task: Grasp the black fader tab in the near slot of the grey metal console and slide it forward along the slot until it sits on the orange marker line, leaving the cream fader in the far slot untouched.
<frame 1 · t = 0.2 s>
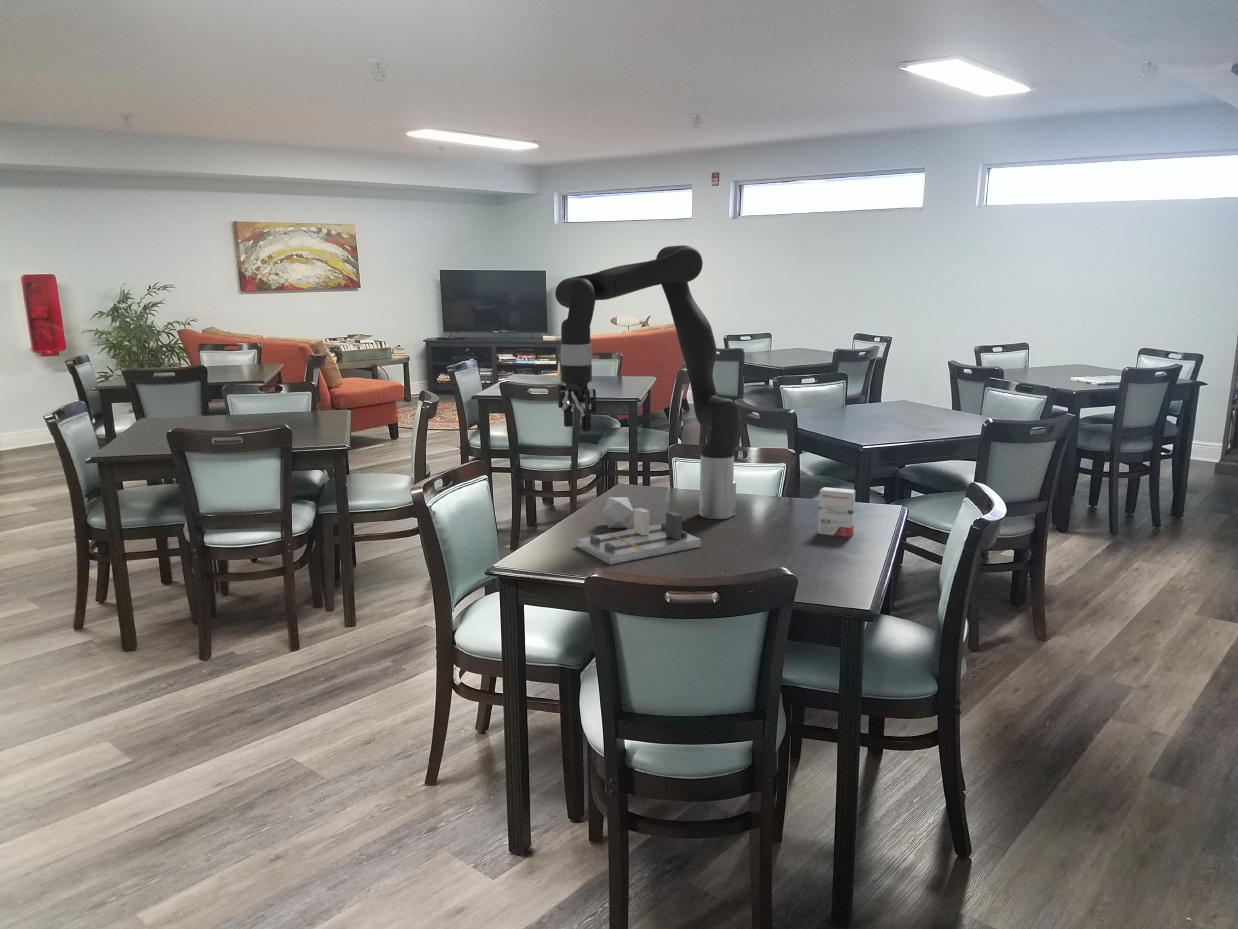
hand: (577, 428, 207), 29 cm above the table, tool pointing down, fingers open, 8 cm apart
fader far: (641, 521, 211), point 5 cm above the table, slide at 0.0 cm
ink box: (835, 534, 219), on the table
console: (638, 546, 208), on the table
fader near: (673, 525, 208), point 5 cm above the table, slide at 0.0 cm
die: (618, 527, 226), on the table
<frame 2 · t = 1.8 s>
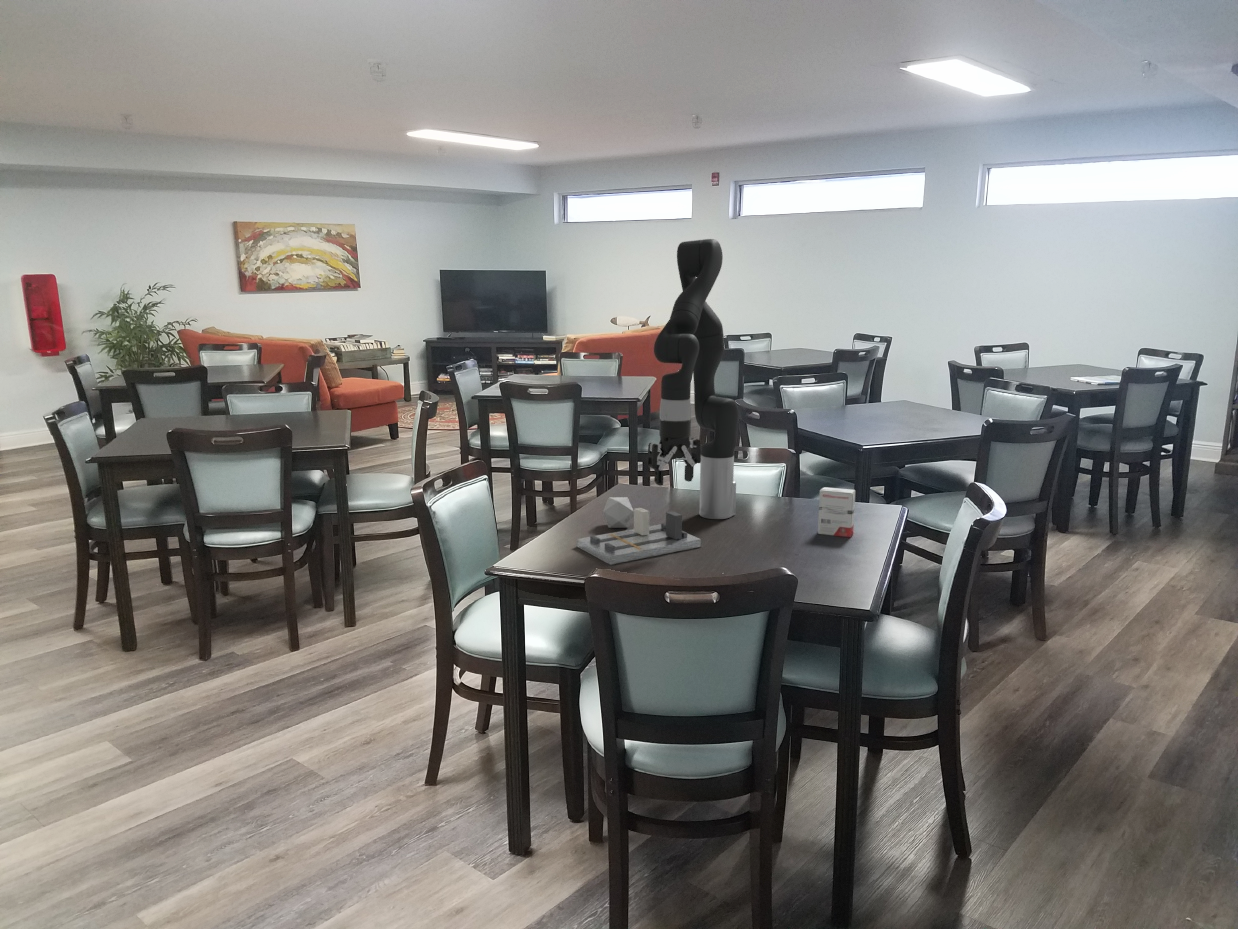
hand: (673, 482, 206), 16 cm above the table, tool pointing down, fingers open, 8 cm apart
nothing on the table moved.
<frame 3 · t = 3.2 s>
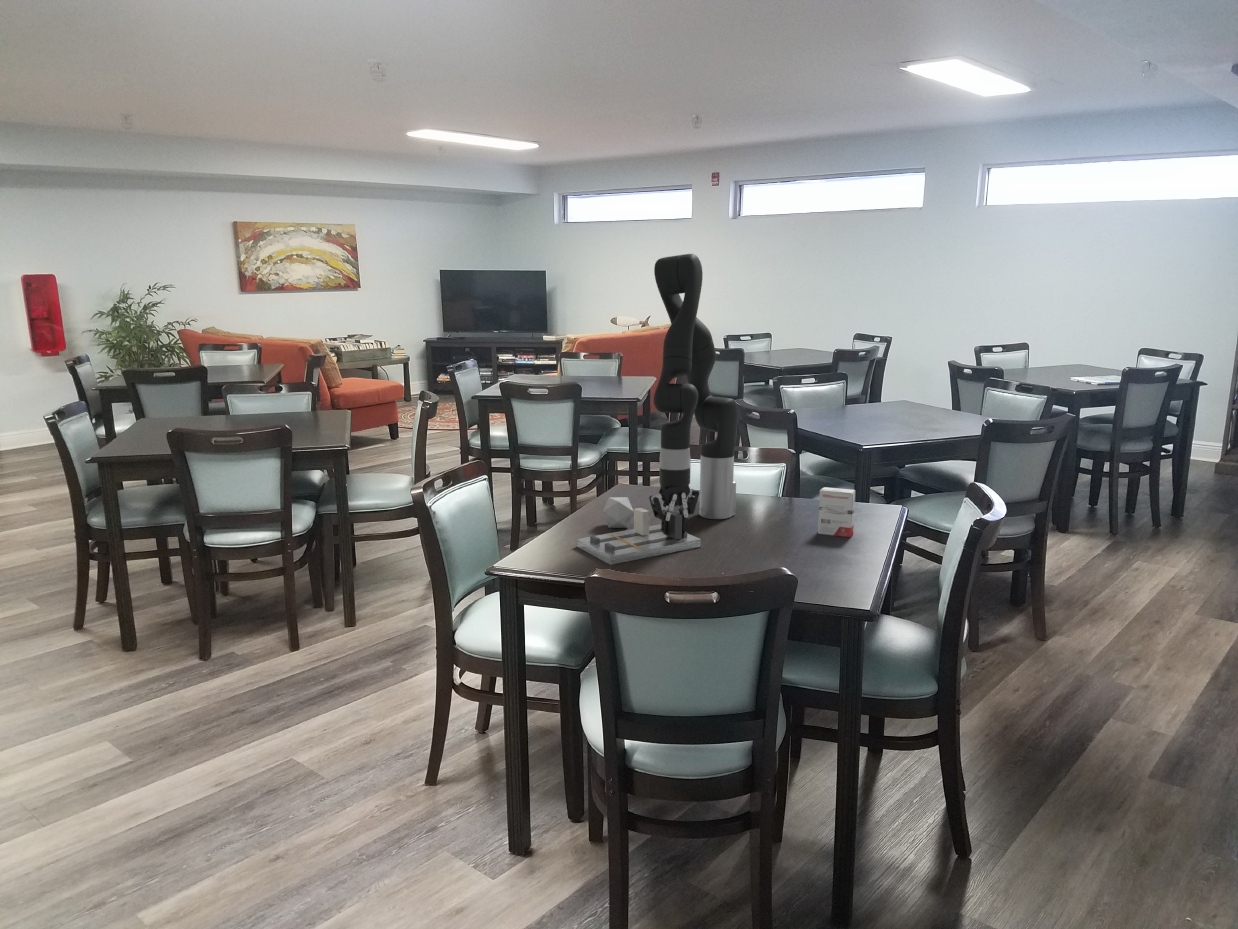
hand: (674, 532, 208), 3 cm above the table, tool pointing down, fingers open, 4 cm apart
nothing on the table moved.
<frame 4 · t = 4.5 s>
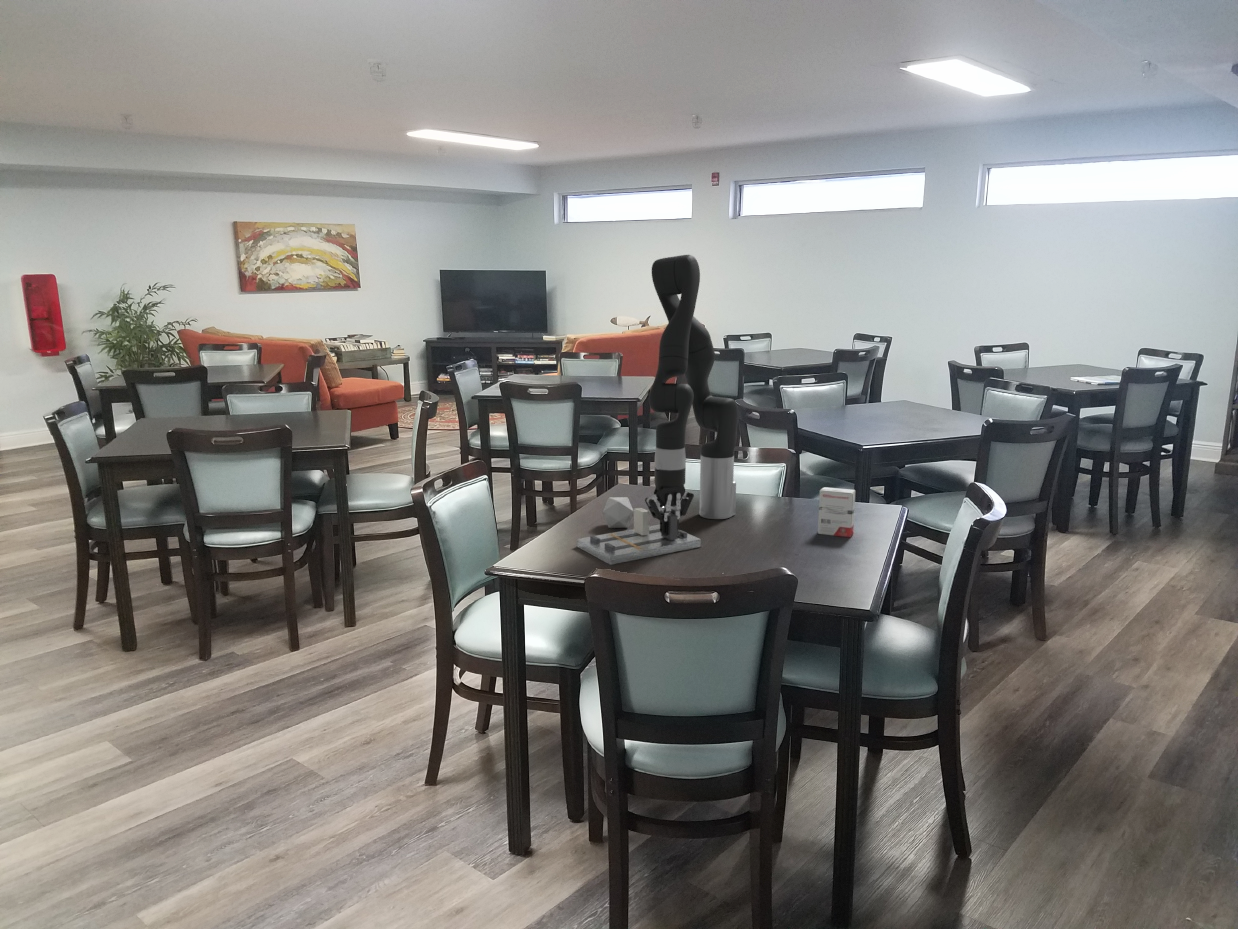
hand: (669, 533, 208), 3 cm above the table, tool pointing down, fingers closed on fader near, 2 cm apart
fader near: (669, 526, 207), point 5 cm above the table, slide at 1.4 cm, touching gripper
everything else where it was.
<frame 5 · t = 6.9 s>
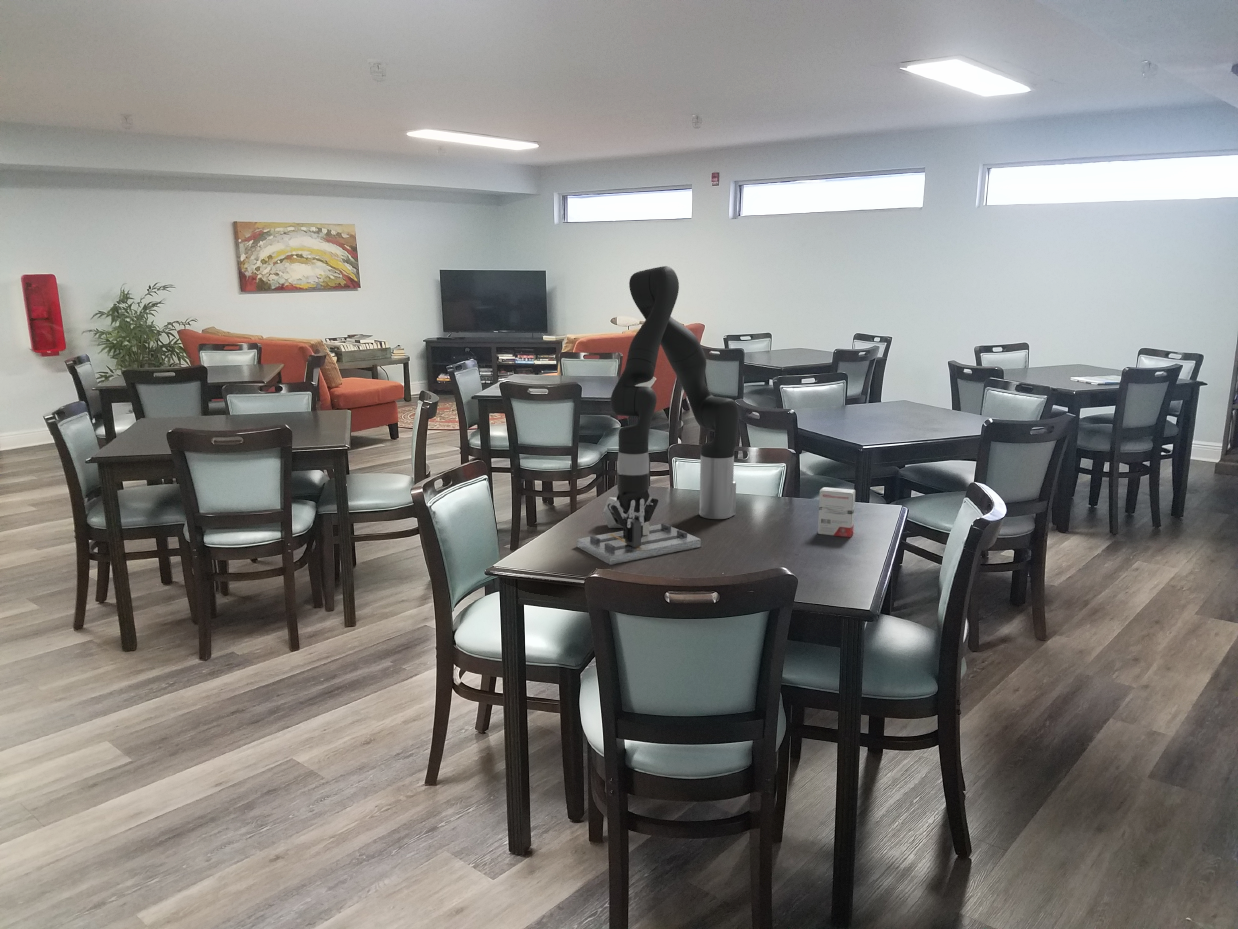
hand: (632, 540, 202), 3 cm above the table, tool pointing down, fingers closed on fader near, 2 cm apart
fader near: (633, 532, 202), point 5 cm above the table, slide at 12.0 cm, touching gripper
everything else where it was.
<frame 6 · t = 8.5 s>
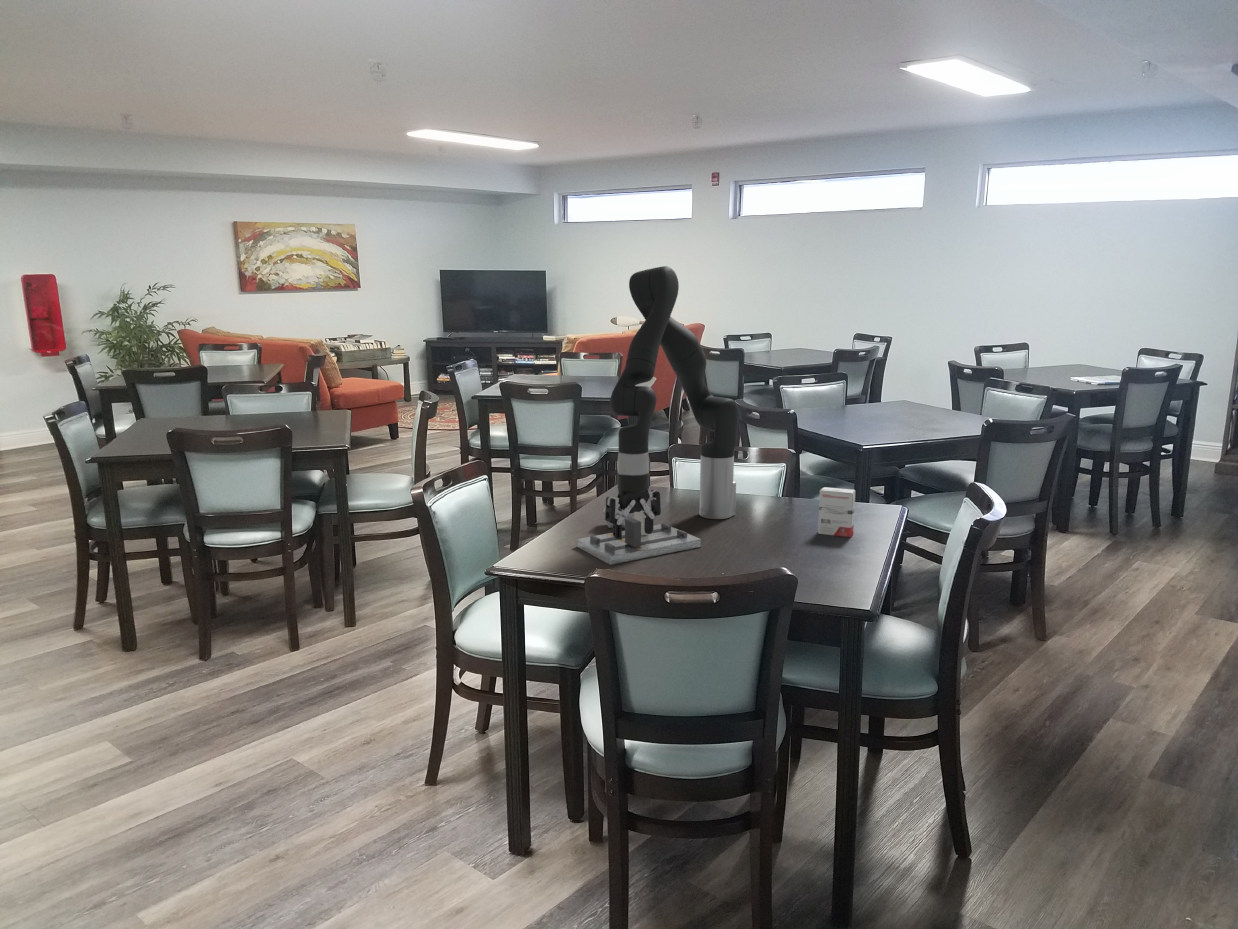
hand: (633, 536, 202), 4 cm above the table, tool pointing down, fingers open, 8 cm apart
fader near: (633, 532, 202), point 5 cm above the table, slide at 12.0 cm
everything else where it was.
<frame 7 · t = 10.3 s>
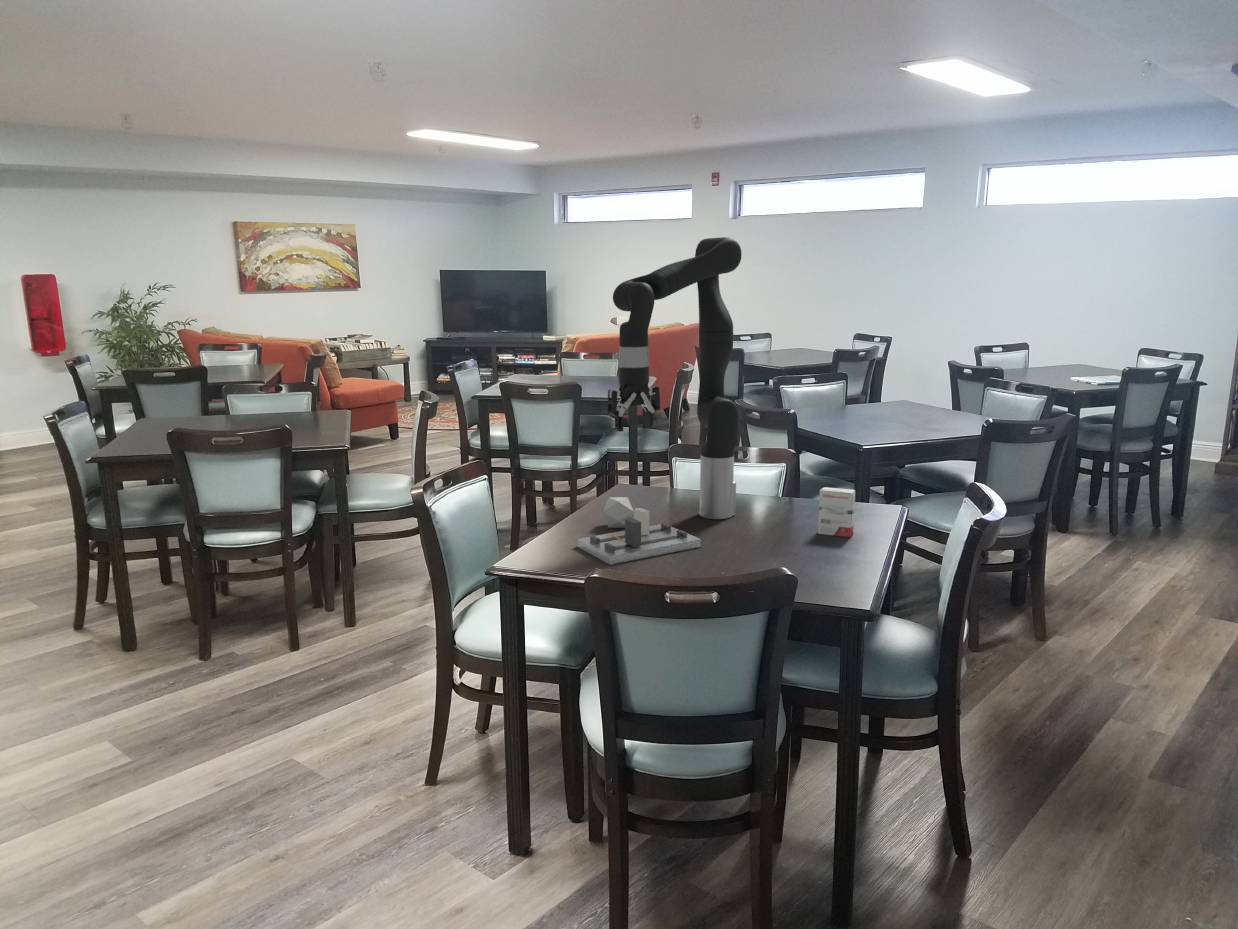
hand: (634, 429, 211), 28 cm above the table, tool pointing down, fingers open, 8 cm apart
nothing on the table moved.
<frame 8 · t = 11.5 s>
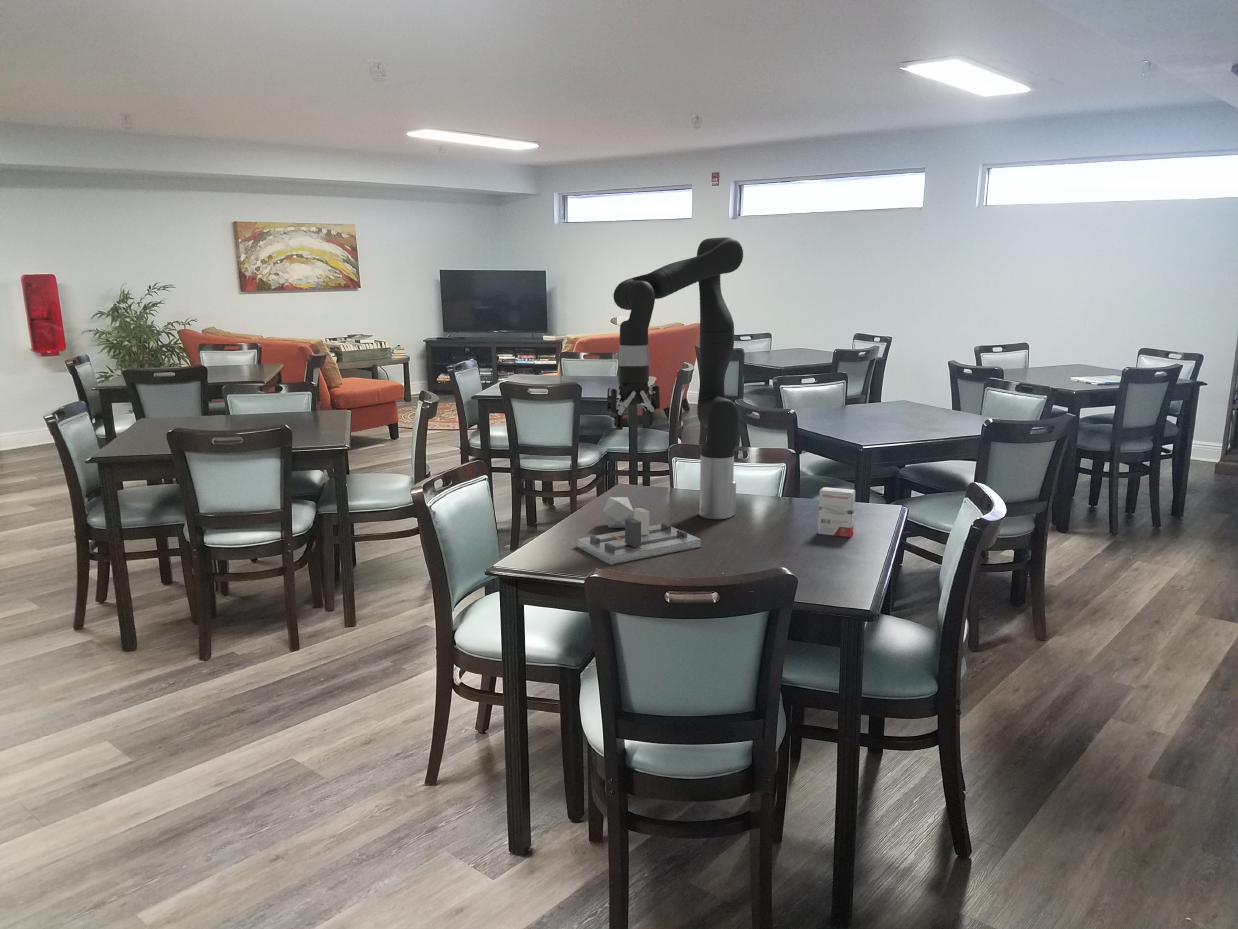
hand: (633, 427, 212), 28 cm above the table, tool pointing down, fingers open, 8 cm apart
nothing on the table moved.
at the end: fader near slide at 12.0 cm; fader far slide at 0.0 cm; the gripper is holding nothing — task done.
